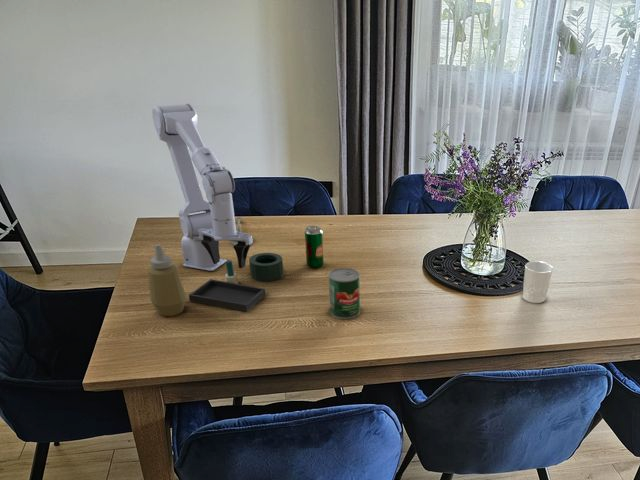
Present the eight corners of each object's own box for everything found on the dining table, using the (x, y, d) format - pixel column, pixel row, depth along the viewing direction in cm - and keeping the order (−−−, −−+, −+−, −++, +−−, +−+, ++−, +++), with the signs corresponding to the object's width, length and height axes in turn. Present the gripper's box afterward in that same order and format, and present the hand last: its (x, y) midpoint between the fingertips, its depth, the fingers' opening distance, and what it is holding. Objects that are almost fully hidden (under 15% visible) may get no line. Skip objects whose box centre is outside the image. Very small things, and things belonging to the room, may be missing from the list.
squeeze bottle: (195, 307, 157) (183, 242, 148) (172, 321, 151) (159, 254, 141) (169, 301, 159) (156, 236, 150) (146, 314, 153) (131, 247, 143)
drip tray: (190, 301, 160) (188, 294, 159) (211, 285, 168) (210, 279, 167) (247, 312, 158) (246, 305, 157) (265, 295, 166) (265, 288, 165)
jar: (245, 278, 174) (243, 262, 171) (260, 266, 181) (258, 250, 179) (274, 283, 173) (273, 267, 170) (288, 271, 180) (287, 255, 177)
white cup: (529, 306, 174) (534, 274, 169) (515, 294, 180) (520, 263, 174) (552, 301, 177) (558, 270, 172) (537, 290, 183) (542, 259, 178)
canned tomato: (346, 322, 158) (345, 284, 152) (323, 312, 161) (321, 274, 155) (366, 311, 164) (366, 273, 158) (343, 301, 167) (343, 265, 161)
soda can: (319, 270, 182) (317, 232, 176) (303, 267, 183) (301, 229, 177) (326, 263, 187) (324, 226, 180) (310, 261, 187) (308, 224, 181)
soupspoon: (230, 249, 191) (252, 248, 194) (229, 239, 190) (251, 239, 192) (229, 221, 208) (249, 221, 211) (228, 212, 207) (249, 212, 209)
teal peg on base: (223, 285, 169) (220, 262, 165) (229, 281, 172) (226, 258, 168) (234, 287, 169) (231, 264, 165) (240, 282, 171) (237, 259, 168)
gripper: (188, 218, 157) (196, 266, 165) (240, 226, 155) (246, 274, 163) (204, 209, 163) (211, 256, 170) (254, 217, 161) (259, 264, 169)
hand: (229, 264), depth 167 cm, fingers open, 7 cm apart
